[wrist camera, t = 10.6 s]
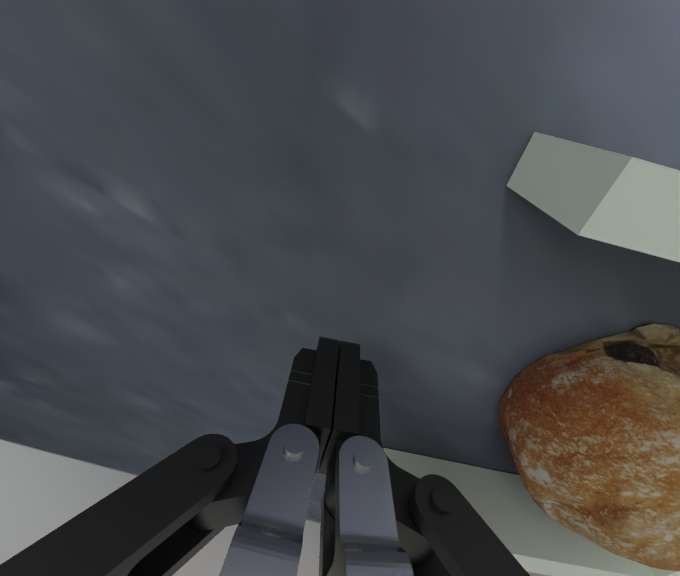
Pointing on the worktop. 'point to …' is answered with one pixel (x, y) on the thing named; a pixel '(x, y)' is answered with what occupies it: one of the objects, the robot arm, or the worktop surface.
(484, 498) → the green u-shaped bracket
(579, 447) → the bread roll
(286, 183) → the worktop surface
